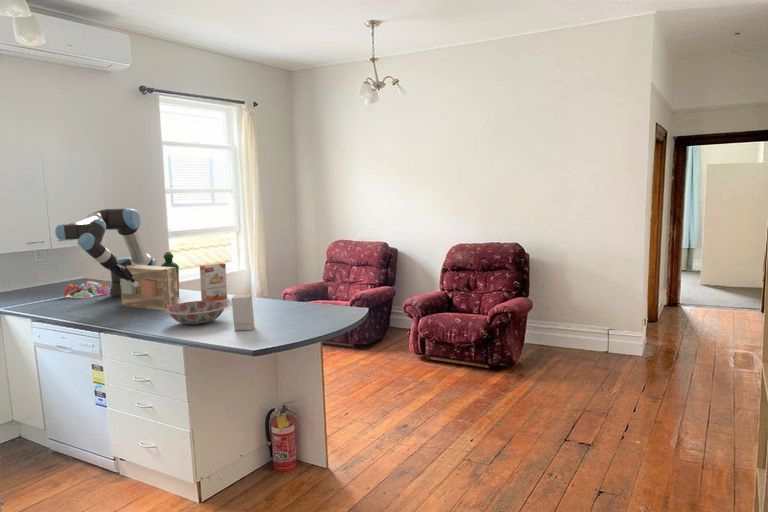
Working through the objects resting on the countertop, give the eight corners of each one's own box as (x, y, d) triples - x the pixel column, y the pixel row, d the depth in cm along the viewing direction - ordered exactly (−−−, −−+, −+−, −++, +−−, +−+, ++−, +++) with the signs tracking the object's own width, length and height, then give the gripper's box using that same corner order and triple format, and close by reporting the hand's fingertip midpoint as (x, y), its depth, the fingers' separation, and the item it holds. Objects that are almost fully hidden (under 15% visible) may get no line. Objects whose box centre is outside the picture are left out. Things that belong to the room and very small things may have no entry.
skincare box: (254, 327, 264) (252, 294, 262) (252, 330, 257) (250, 297, 255) (236, 327, 263) (234, 294, 261) (233, 331, 257) (231, 297, 255)
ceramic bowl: (193, 314, 294) (192, 299, 293) (241, 317, 284) (240, 302, 282) (152, 328, 267) (150, 311, 266) (202, 332, 257) (201, 315, 256)
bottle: (177, 299, 333) (173, 252, 330) (159, 300, 334) (155, 253, 330) (183, 296, 344) (180, 250, 340) (166, 296, 344) (162, 250, 341)
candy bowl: (82, 292, 370) (80, 278, 369) (117, 291, 369) (116, 277, 368) (58, 299, 345) (57, 284, 344) (96, 299, 344) (95, 284, 343)
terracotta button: (152, 296, 304) (150, 281, 303) (141, 295, 308) (140, 280, 306) (156, 295, 306) (155, 280, 305) (146, 294, 310) (145, 279, 309)
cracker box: (207, 302, 324) (204, 266, 321) (201, 301, 328) (198, 265, 325) (228, 298, 335) (225, 263, 332) (221, 297, 339) (219, 262, 336)
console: (164, 310, 305) (161, 270, 302) (122, 305, 321) (118, 267, 318) (178, 306, 314) (175, 267, 311) (137, 302, 330) (134, 264, 327)
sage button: (131, 294, 311) (130, 279, 310) (122, 293, 315) (120, 279, 314) (136, 293, 314) (135, 278, 313) (126, 292, 318) (125, 278, 317)
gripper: (92, 263, 283) (124, 290, 300) (109, 264, 277) (141, 291, 293) (101, 251, 287) (132, 278, 304) (118, 252, 281) (148, 280, 297)
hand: (136, 285), depth 298 cm, fingers closed
